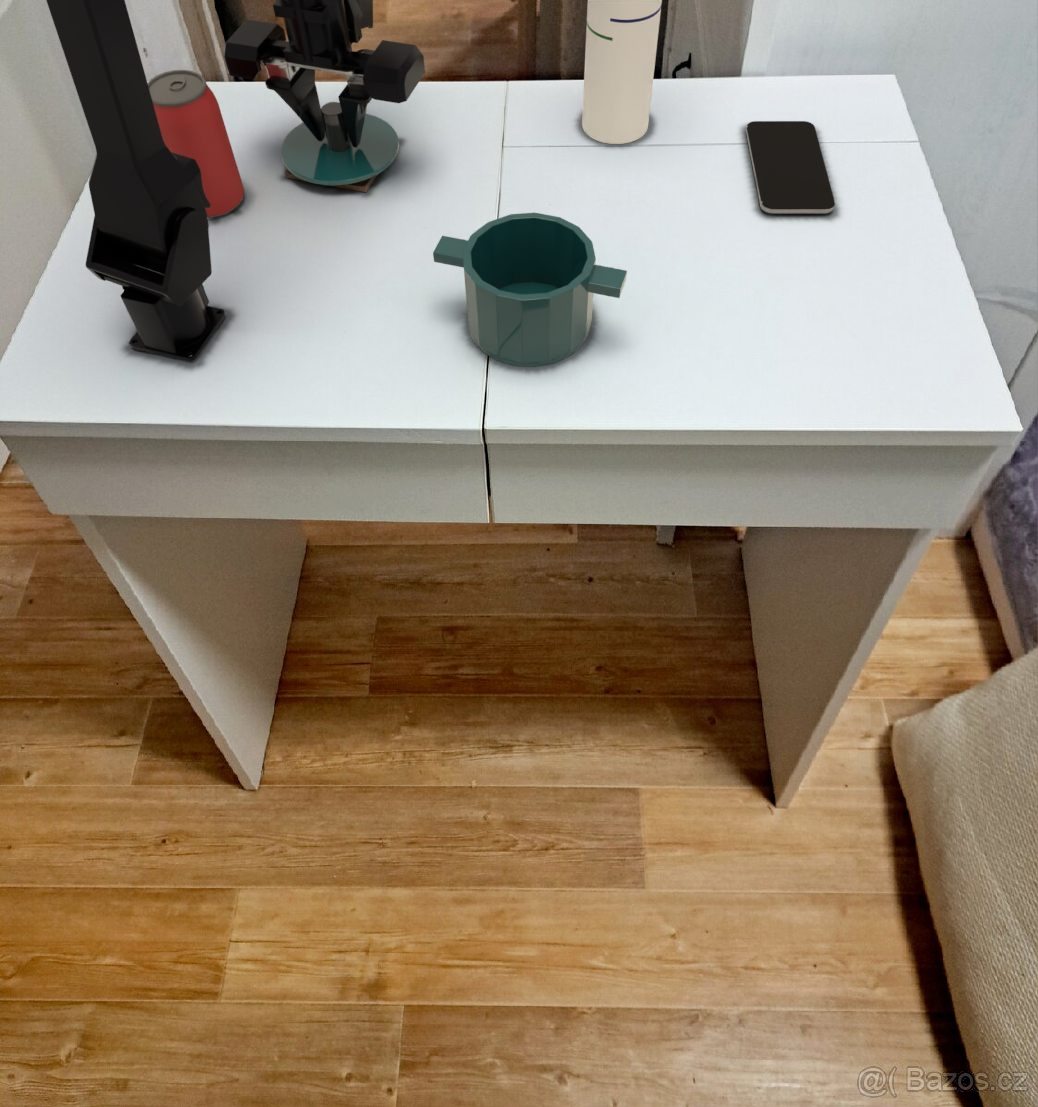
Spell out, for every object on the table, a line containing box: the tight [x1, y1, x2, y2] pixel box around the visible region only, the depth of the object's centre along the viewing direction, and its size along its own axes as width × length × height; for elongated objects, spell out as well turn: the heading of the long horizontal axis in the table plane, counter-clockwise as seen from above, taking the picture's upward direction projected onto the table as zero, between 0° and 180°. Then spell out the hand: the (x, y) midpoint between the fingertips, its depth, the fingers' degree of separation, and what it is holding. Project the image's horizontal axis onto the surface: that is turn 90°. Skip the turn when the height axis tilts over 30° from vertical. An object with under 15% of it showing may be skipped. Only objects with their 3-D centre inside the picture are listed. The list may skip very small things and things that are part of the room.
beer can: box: [147, 69, 245, 218], centre depth 89 cm, size 7×7×12 cm
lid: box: [280, 101, 400, 186], centre depth 94 cm, size 12×12×5 cm
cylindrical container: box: [581, 0, 663, 145], centre depth 89 cm, size 7×7×25 cm
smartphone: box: [745, 120, 836, 214], centre depth 95 cm, size 7×1×15 cm
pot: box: [432, 212, 628, 367], centre depth 80 cm, size 11×16×8 cm
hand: (339, 142), depth 95 cm, fingers open, 4 cm apart
